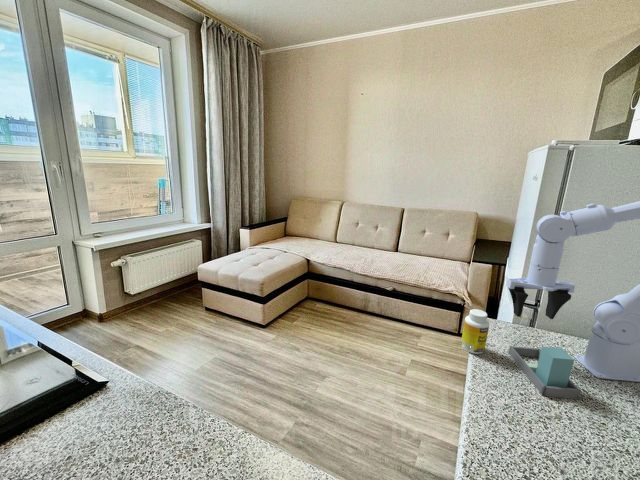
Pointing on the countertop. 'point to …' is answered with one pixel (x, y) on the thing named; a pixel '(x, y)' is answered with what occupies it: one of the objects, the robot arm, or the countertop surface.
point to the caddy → (530, 371)
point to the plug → (554, 367)
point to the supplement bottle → (475, 332)
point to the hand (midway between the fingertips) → (533, 315)
